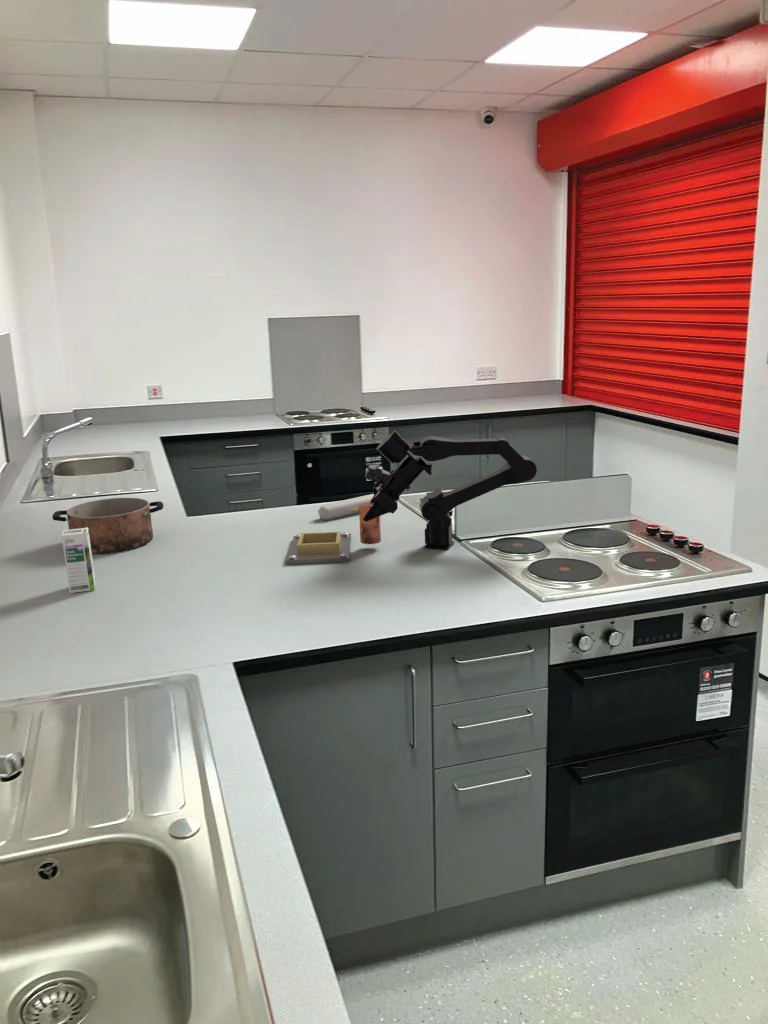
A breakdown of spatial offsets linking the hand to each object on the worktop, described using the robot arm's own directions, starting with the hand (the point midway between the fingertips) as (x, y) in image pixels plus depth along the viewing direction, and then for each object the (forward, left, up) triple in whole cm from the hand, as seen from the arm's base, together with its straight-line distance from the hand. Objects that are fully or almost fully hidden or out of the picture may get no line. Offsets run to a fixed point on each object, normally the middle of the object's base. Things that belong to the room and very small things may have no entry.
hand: (364, 517), depth 218 cm
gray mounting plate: (+11, +4, -9) cm, 15 cm away
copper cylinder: (0, 0, -7) cm, 7 cm away
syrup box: (+55, +46, -9) cm, 72 cm away
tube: (+18, -34, -9) cm, 39 cm away
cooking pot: (+73, +13, -9) cm, 75 cm away
